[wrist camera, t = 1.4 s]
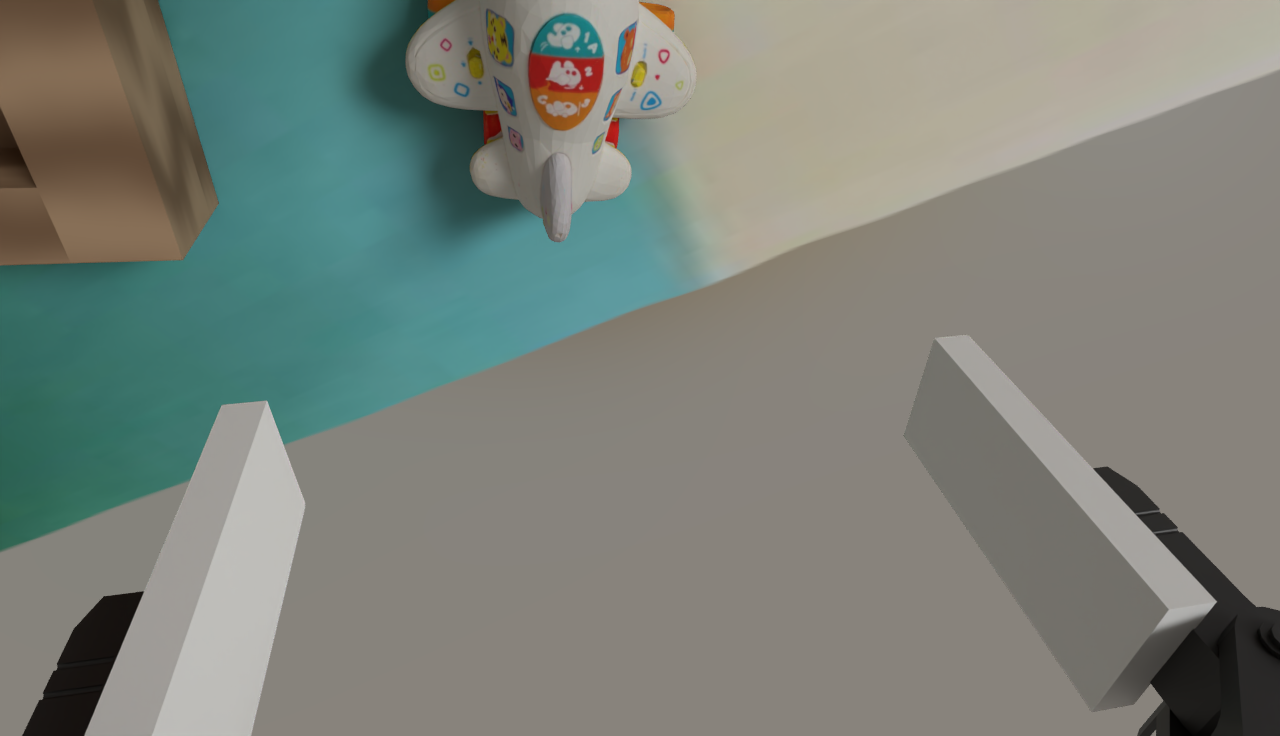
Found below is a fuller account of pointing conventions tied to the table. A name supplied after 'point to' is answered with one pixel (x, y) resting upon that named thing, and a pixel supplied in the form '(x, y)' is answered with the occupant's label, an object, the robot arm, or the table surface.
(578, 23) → the toy airplane
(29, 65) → the socket block
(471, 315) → the table surface
